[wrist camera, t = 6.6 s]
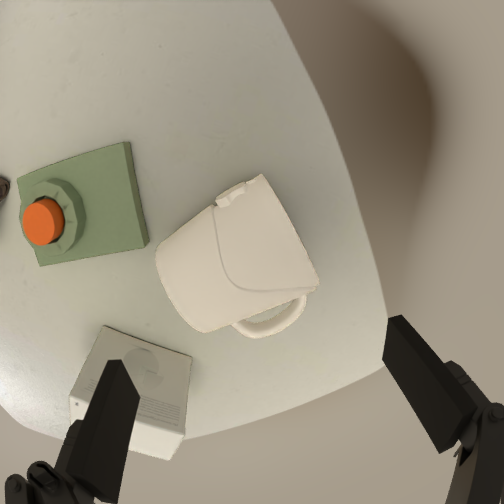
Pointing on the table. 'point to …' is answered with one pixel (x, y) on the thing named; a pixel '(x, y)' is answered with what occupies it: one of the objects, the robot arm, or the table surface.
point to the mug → (237, 263)
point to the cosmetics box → (141, 390)
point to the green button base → (89, 204)
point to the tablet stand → (3, 188)
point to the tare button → (43, 221)
